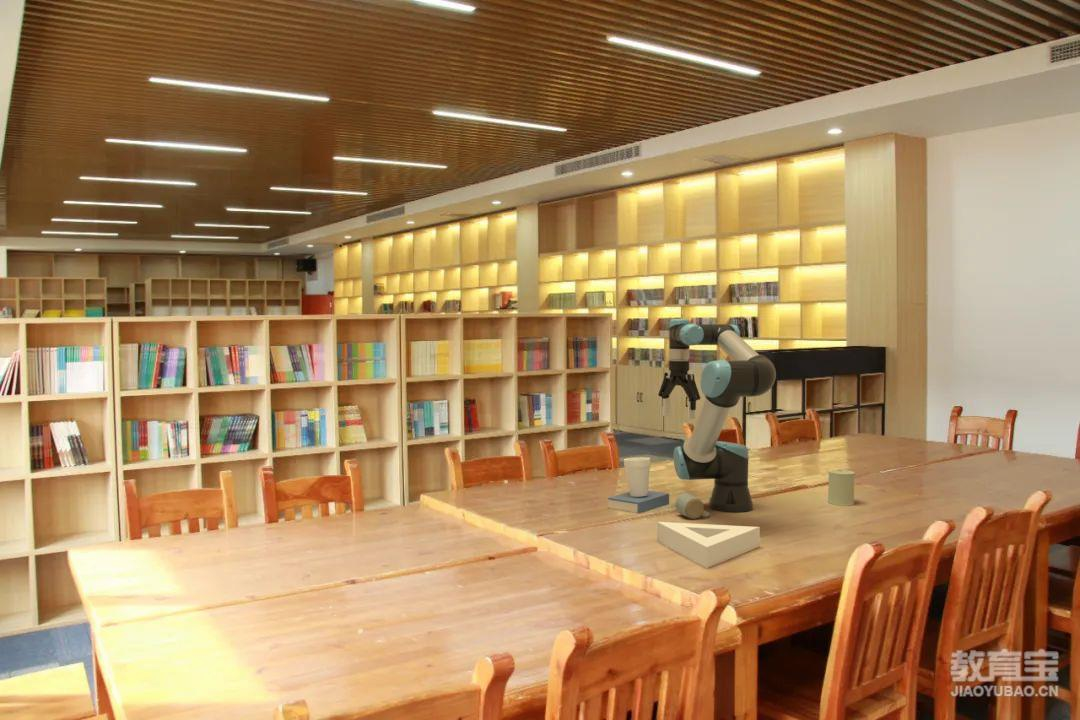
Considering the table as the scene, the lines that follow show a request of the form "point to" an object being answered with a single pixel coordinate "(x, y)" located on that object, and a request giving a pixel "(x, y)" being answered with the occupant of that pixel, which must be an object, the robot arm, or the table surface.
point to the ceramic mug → (690, 506)
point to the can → (841, 487)
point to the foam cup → (637, 475)
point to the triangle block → (708, 540)
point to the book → (638, 501)
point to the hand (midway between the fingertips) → (678, 417)
